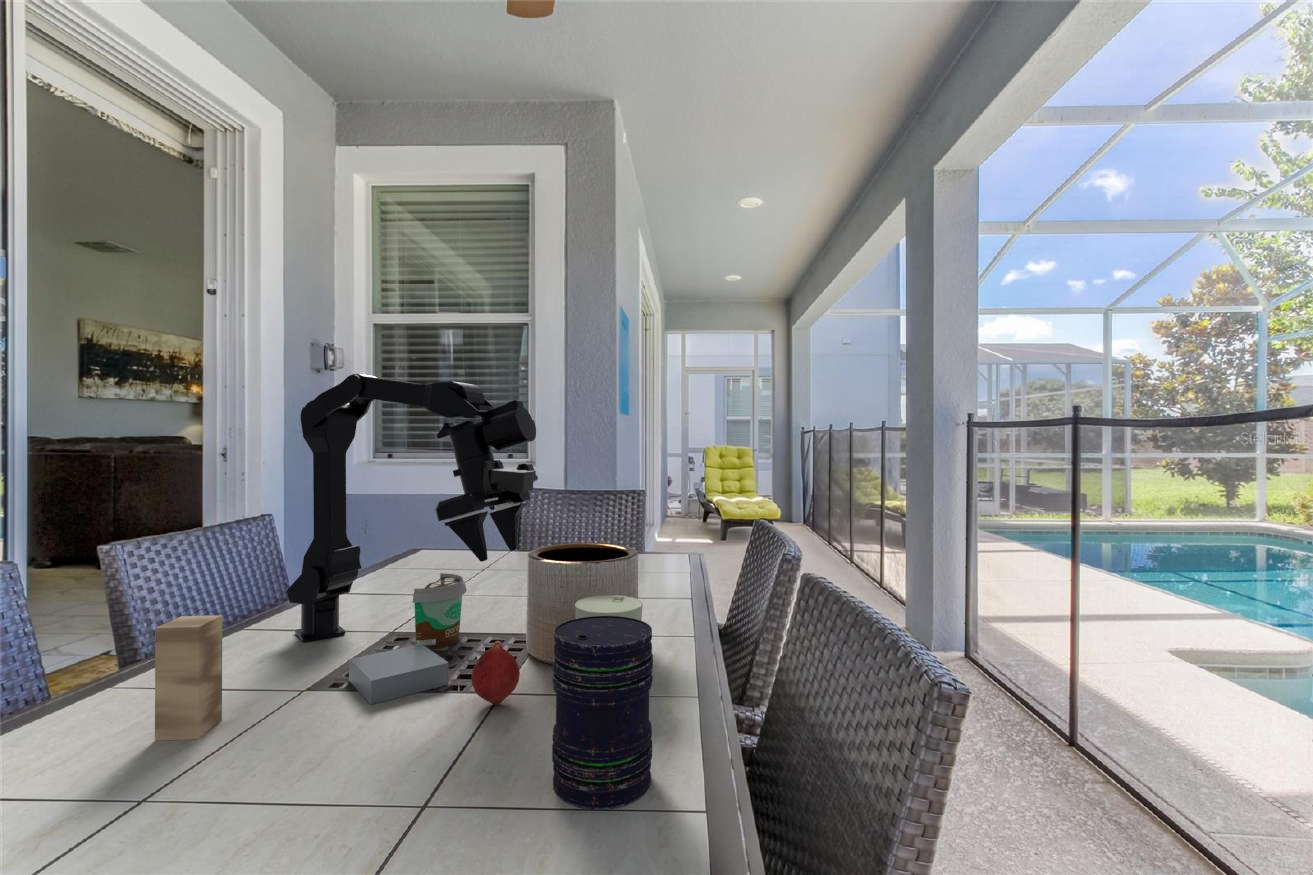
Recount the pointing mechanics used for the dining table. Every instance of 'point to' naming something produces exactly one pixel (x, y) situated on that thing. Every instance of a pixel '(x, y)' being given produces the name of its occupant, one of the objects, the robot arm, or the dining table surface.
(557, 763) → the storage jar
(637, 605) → the can
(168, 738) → the oak block
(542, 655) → the planter
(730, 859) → the dining table surface
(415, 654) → the plate
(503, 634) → the dining table surface
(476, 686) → the onion
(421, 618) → the food container
